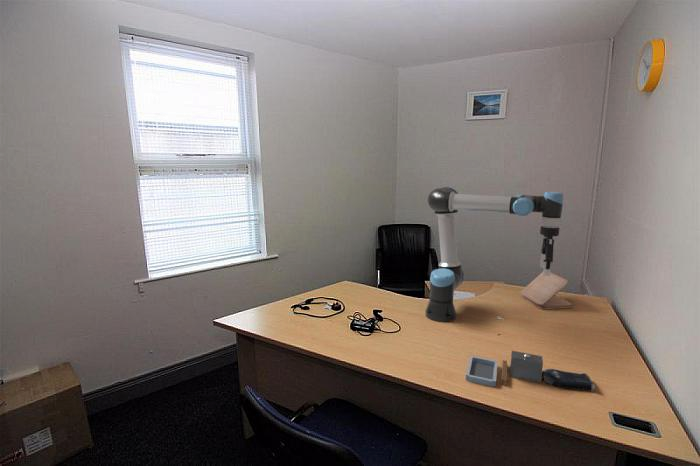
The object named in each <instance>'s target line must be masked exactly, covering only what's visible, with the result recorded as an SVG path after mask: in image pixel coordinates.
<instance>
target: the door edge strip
mask: <svg viewBox="0 0 700 466" xmlns="http://www.w3.org/2000/svg"><path fill="white" fill-rule="evenodd" d="M507 365H508V360H502V365H501V366H502V367H501V384H500V385H501V386H506V385H507V370H508V369H507V368H508V366H507Z"/></svg>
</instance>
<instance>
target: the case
mask: <svg viewBox="0 0 700 466" xmlns="http://www.w3.org/2000/svg"><path fill="white" fill-rule="evenodd" d="M568 284H569V280H568V279H566V278H564V277H562V276H560V275H558V274H556V273H553V272H551V273H550V276H543V271H542V272H541V273H540V274H538V276H536V277H535V278H534V279H533V280H532V281H531V282H530V283H528V284H527V285H526V286H525V287H523V289H522V290H521V291H520V295H521V298H522V299H524V300H525V301H527V302H528V303H530V304H532V305H533V306H535V307H537V309H541V310H546V311H547V310H558V309H559V310H560V309H574V308H575V304H573V303H572V302H569V301H567V300H566V299H563V298H562V297H559V296H557V295H556V294H558V293H559V292H561V290H563V289H564V288H565V287H566V286H567V285H568Z"/></svg>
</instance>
